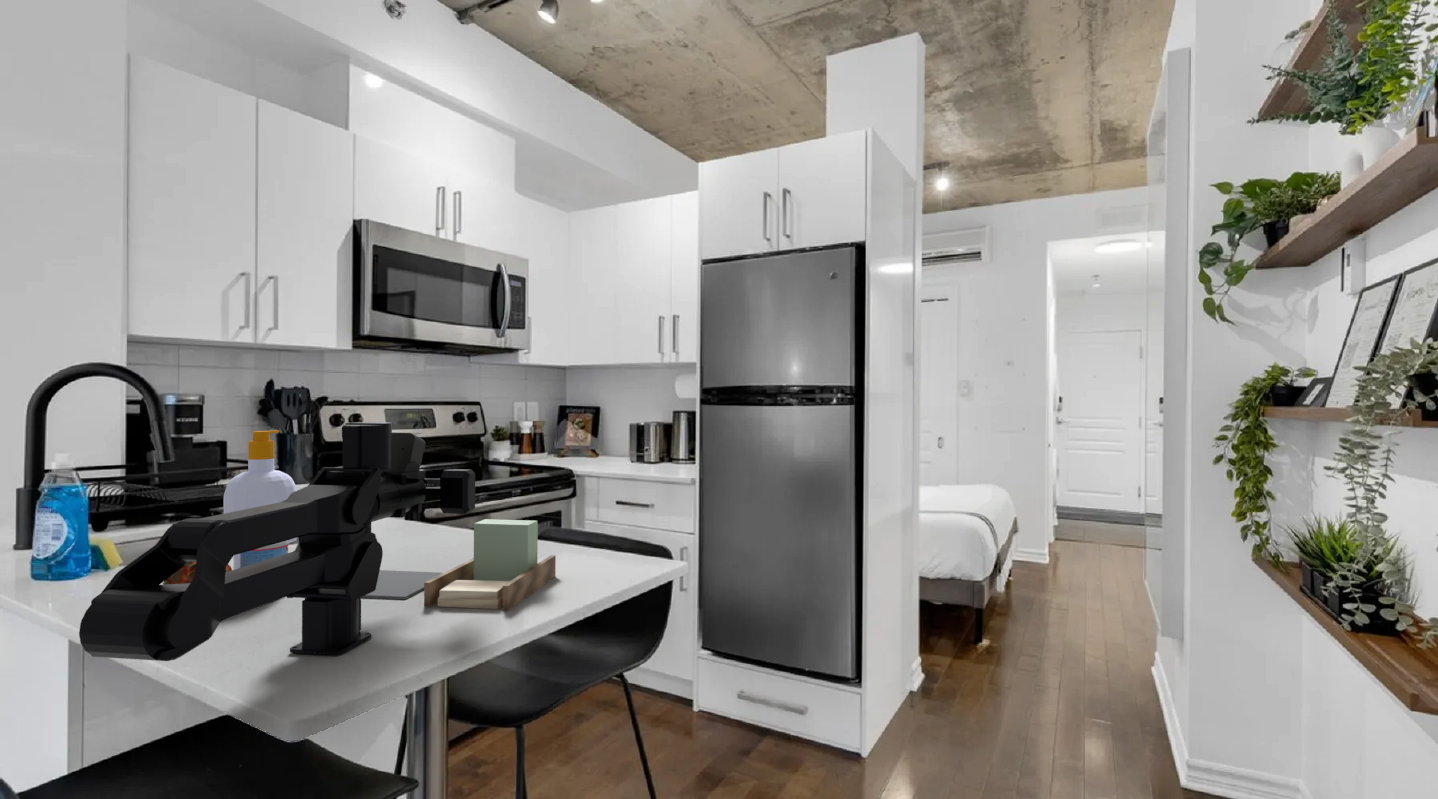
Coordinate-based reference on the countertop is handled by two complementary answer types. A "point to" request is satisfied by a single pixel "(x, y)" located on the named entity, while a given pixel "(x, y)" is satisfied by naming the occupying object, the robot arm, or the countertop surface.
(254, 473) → the soap bottle
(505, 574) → the upright mint green block
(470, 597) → the offcut stack
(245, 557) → the pill bottle
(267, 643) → the countertop surface
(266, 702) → the countertop surface
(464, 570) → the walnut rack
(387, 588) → the charcoal mat
